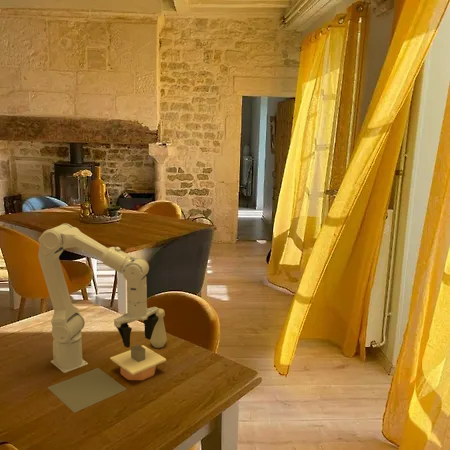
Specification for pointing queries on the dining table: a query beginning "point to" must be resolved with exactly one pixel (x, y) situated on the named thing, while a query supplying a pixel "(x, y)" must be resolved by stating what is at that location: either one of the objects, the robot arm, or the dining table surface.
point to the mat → (86, 389)
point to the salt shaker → (159, 331)
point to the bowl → (138, 374)
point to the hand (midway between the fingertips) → (137, 342)
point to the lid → (137, 359)
